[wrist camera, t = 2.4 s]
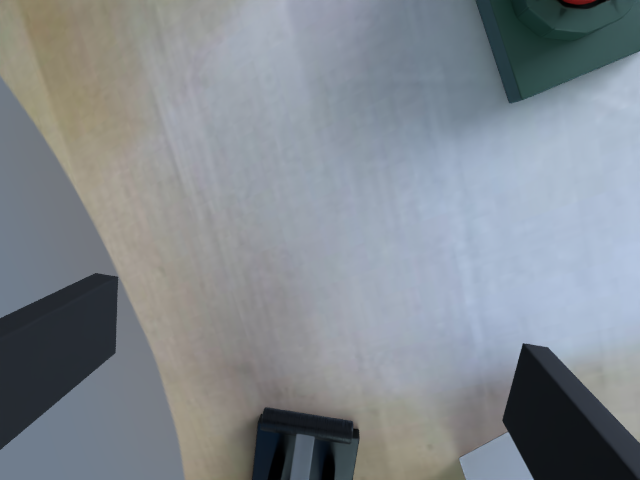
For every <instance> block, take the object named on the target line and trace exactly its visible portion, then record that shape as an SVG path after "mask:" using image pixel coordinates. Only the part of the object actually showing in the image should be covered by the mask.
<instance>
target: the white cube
mask: <svg viewBox="0 0 640 480" xmlns="http://www.w3.org/2000/svg"><path fill="white" fill-rule="evenodd" d="M459 460H460V463H461V466H462V469H463V472H464V475H465V478H466V480H534V479H533V477H532V475H531V474H530V472H529V470H528V468H527V466H526V464H525V462H524V460H523V459H522V457H521V455H520V453H519V451H518V449H517V447H516V445H515V443H514V442H513V440H512V438H511V436H510V434H509V432H507V433H505V434H503V435H501V436H499V437H498V438H496V439H494V440H492V441H490V442H488V443H486V444H485V445H483V446H481V447H479V448H477V449H475V450H473V451H471V452H470V453H468V454H466V455H464V456H462V457H460V458H459Z"/></svg>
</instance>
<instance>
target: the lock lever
mask: <svg viewBox="0 0 640 480" xmlns="http://www.w3.org/2000/svg"><path fill="white" fill-rule="evenodd" d="M261 430H262V431H268V432H275V433H281V434H287V435H293V436H296V441H295V448H294V455H293V461H292V468H291V475H290V480H309V475H310V468H311V460H312V453H313V446H314V439H318V440H324V441H330V442H336V443H342V444H348V445H350V444H351V442H352V435H353V421H349V420H343V419H337V418H330V417H324V416H318V415H312V414H305V413H299V412H293V411H286V410H280V409H274V408H268V407H265V409H264V411H263V414H262V419H261Z"/></svg>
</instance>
